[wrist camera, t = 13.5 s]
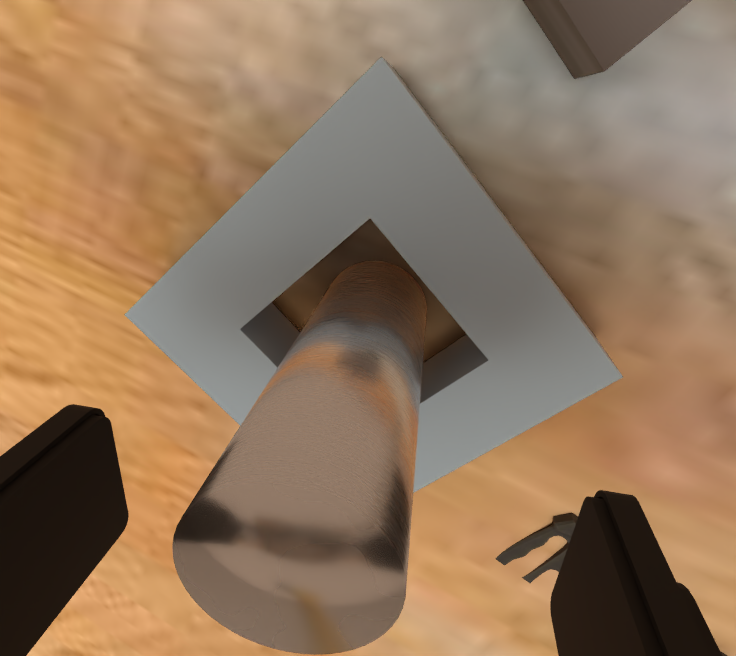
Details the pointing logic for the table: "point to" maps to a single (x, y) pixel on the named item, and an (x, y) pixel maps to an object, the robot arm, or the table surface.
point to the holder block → (419, 249)
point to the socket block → (599, 28)
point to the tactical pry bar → (560, 526)
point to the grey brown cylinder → (318, 479)
